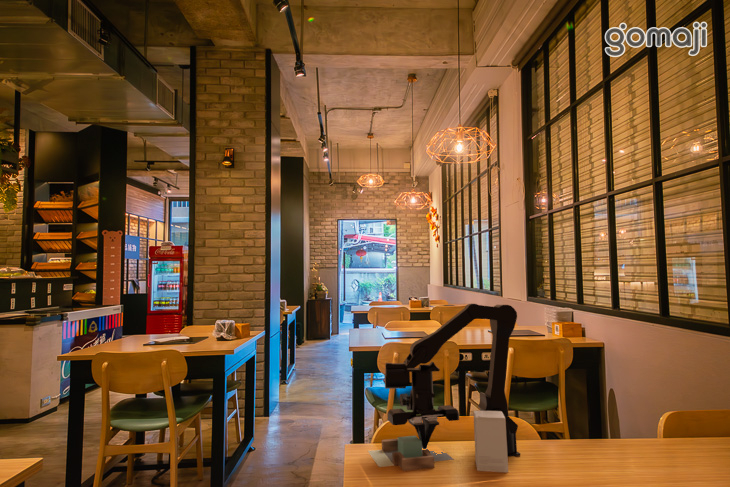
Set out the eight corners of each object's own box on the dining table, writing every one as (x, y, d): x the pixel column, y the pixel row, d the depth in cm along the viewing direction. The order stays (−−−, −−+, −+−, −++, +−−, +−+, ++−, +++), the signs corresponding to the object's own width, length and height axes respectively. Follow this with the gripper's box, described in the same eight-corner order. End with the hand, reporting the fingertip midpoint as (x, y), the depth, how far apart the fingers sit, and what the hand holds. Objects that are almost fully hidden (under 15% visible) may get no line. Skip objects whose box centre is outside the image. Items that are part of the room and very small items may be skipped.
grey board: (436, 445, 122) (436, 444, 122) (454, 460, 110) (453, 459, 110) (367, 452, 117) (367, 450, 117) (378, 468, 106) (378, 466, 106)
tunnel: (414, 447, 120) (414, 437, 121) (436, 468, 105) (435, 456, 105) (381, 450, 118) (381, 440, 119) (399, 472, 103) (398, 460, 103)
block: (415, 451, 117) (415, 435, 117) (422, 457, 112) (421, 441, 112) (398, 452, 116) (397, 437, 116) (403, 459, 111) (403, 442, 111)
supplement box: (509, 474, 101) (506, 418, 103) (476, 472, 103) (474, 416, 104) (505, 462, 108) (502, 410, 110) (475, 461, 110) (472, 409, 111)
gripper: (442, 381, 127) (444, 436, 125) (381, 384, 123) (382, 441, 121) (458, 388, 116) (461, 449, 114) (392, 392, 112) (394, 455, 110)
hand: (424, 448), depth 115 cm, fingers closed
